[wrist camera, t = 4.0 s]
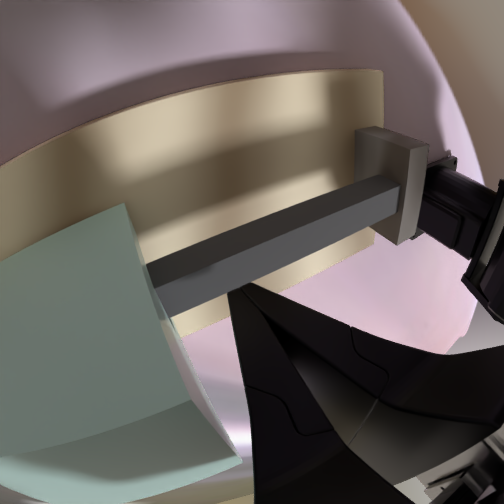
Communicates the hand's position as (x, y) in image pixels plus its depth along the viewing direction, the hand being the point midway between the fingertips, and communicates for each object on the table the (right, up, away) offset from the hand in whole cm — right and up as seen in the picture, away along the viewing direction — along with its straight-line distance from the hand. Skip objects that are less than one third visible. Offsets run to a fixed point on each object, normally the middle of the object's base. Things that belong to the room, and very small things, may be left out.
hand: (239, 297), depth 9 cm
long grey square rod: (-5, 0, +1) cm, 5 cm away
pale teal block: (-6, 0, +1) cm, 7 cm away
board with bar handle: (-6, +1, +3) cm, 7 cm away
